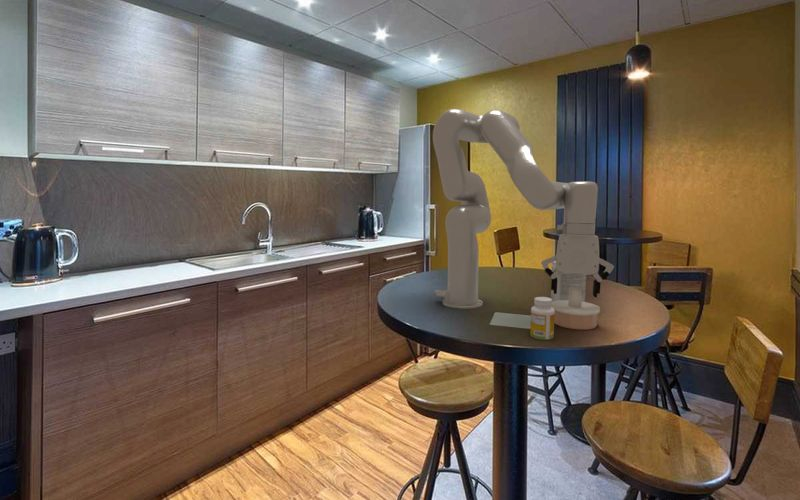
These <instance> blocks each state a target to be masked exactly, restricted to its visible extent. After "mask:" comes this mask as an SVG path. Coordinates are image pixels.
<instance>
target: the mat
mask: <svg viewBox="0 0 800 500" xmlns="http://www.w3.org/2000/svg"><path fill="white" fill-rule="evenodd" d="M489 325H490V326H500V327H507V328H508V327H509V328H515V329H516V328H517V329H527V330H530V325H531V314H529V315H528V314H519V313H508V312H497V311H495V312H494V314H493V316H492V319H491V320H490V322H489Z"/></svg>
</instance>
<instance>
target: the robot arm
mask: <svg viewBox="0 0 800 500" xmlns="http://www.w3.org/2000/svg"><path fill="white" fill-rule="evenodd" d="M460 141H465V142H468V143H477V144H489V145H490V147H491V148H492V149H493V150H494V152H495V154H497V155H498V157H499V158H500V159H501V161H502V162H503V164H504V165H505V166H506V169H507V172H508V174H509V176H510V178H511V180H512V183H513V184H514V185H515V187H516V188H517V190H518V191H519V193H520V194H521V195H522V197H523V198H524V199H525V200H526V201H527V203H528V204H530V206H531V207H533V208H535V209H536V210H540V211H550V210H551V211H552V210H560V209H564V210H563V223H561V224H557V225H556V229H557V231H561V232H562V233H561V234H559V237H558V241H557V246H556V247H557V248H556V255H554V256H551V257H548V258H546V259H542V261H541V266H542V267H543V270H544V272H545V273H546V274H547V275H548V276H549V278H550V279H551V284H550V291H551V290H554V294H557V276H558V275H559V274H560V273H566V274H580V275H586V276H592V277H593V278H594V280H593V284H592V286H593V287H592V296H593V297H594V298H598V294H601V284H602V282H603V281H604V280H606V278H608V277H609V276H610V274H611V273H612V271H613V270H614V269H615V265H613V264H612V263H610V262H609V261H606V260H605V259H603V258H601V257H600V243H599V242H600V241H599V240H600V239H599V236H598V235H596V234H595V233H596V218H597V208H598V207H597V204H598V191H599V190H598V189H599V186H598V184H597V182H594V181H586V180H585V181H583V180H581V181H579V180H578V181H570V182H560V181H553V180H550V179H549V178H548V177H547V176H546V174H545V173H544V172H543V171H542V170H541V168H540V167H539V165H538V164H537V163H536V161H535V158H534V155H533V154H534V147H533V145H532V144H531V142H530V141H529V140H528V139H527V138H526V137H525V136H524V134H523V133H522V132H521V130H520V124H519V121H518V120H517V118H516V117H515V116H513V115H512V114H510V113H507V112H505V111H503V110H499V109H493V110H492V109H491V110H489V111H487V112H486V113H485V114H475V113H473V112H469V111H468V110H465V109H464V110H463V109H460V108H450V109H447V110H446V111H444V112H443V113H441V115H440V116H439V117H438V118H437V120H436V122H435V124H434V126H433V129H432V142H433V144H432V145H433V148H434V152H435V155H436V160H437V164H438V170H439V175H440V181H441V186H442V190H443V194H444V196H445V198H446V199H447V200H449V201H453V202H460V205H456V206H454V207H452V208H451V209H449V210H448V213H447V214H446V216H445V219H444V220H445V233H446V237H447V289H444V290H441V289H435V290H434V296H435V297H436V298H443V300H442V305H443V306H444V307H449V308H452V309H461V310H464V309H465V310H467V309H469V310H471V309H476V308H480V307H482V306H483V304H484V303H483V300H481V299H480V298H479V258H480V257H479V252H480V250H479V241H478V238H477V237H478V236H477V235H478V234H481V233H483V232H485V231H487V230H488V229H489V227H490V225H491V223H492V213H491V208H490V204H489V198H488V194H487V193H488V192H487V189H486V185H485V182H484V180H483V179H482V177H481V176H480V175H479V174H478V173H475V172H472V171H469V169H468V166H467V161H466V156H465V155H466V154H465V153H464V150H463V148H462V146H461V144H460ZM554 261H556V269H555V270H554V271H553V272H552V268H550V267H549V264H551V263H552V262H554ZM600 265H601V266H603V267H605V269H604V271H602V272H601V273H600V274H599V270H600Z"/></svg>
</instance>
